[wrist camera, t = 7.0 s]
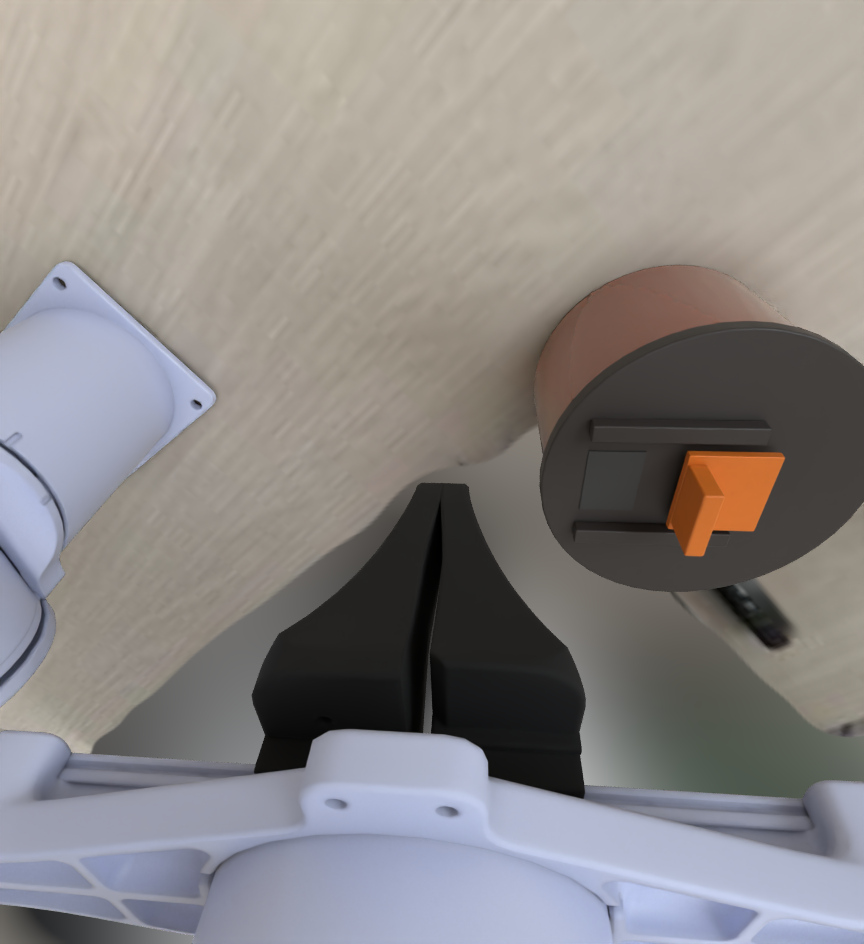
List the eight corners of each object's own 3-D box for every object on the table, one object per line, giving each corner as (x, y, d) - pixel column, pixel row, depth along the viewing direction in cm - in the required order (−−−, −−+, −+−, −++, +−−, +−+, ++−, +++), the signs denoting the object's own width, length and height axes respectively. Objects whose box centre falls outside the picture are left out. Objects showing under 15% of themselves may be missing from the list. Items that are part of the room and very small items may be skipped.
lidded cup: (519, 478, 27) (530, 597, 21) (537, 257, 21) (560, 334, 15) (739, 482, 27) (818, 608, 20) (826, 255, 20) (978, 335, 14)
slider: (665, 523, 19) (681, 563, 17) (686, 450, 17) (707, 488, 15) (750, 526, 19) (775, 567, 17) (781, 452, 17) (812, 490, 15)
